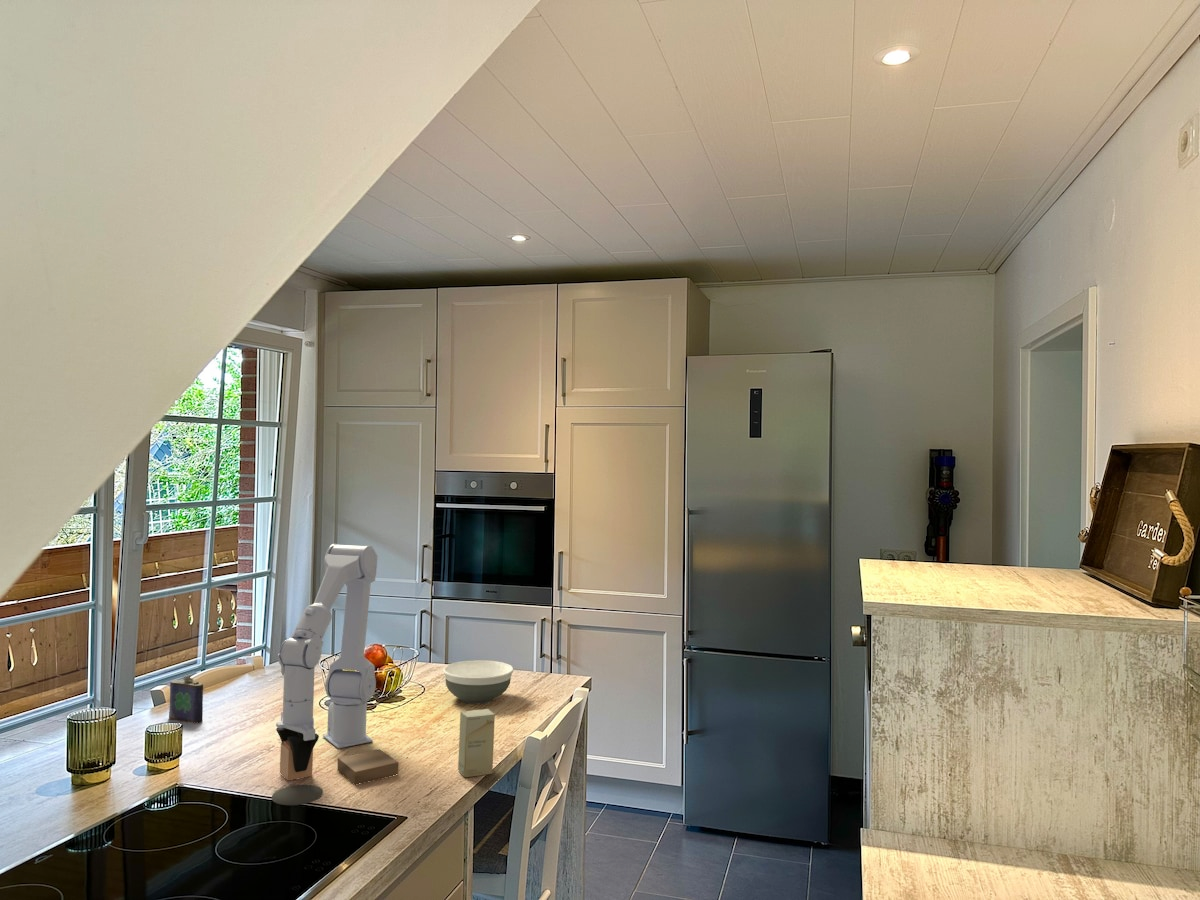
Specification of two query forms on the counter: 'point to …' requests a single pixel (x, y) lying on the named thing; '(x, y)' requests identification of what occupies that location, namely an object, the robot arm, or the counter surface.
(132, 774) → the counter surface
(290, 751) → the tall tan wooden block
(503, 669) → the bowl
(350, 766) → the walnut block
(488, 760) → the skincare box
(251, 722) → the counter surface
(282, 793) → the coaster
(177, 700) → the flask
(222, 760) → the counter surface
